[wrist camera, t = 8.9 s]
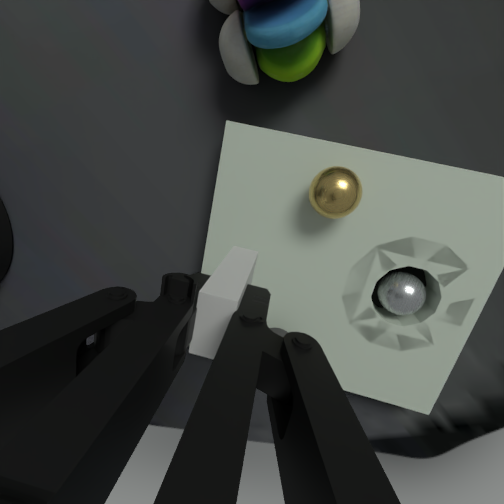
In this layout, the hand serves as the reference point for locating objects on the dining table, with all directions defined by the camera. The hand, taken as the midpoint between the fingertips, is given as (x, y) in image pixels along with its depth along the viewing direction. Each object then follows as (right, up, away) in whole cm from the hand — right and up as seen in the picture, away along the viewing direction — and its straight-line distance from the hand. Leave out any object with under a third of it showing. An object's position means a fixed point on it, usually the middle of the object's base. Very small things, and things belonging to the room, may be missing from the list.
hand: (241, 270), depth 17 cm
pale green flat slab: (+7, 0, +6) cm, 9 cm away
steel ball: (+12, -2, +4) cm, 13 cm away
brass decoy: (+6, +5, +1) cm, 8 cm away
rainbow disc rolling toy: (+3, +17, +2) cm, 18 cm away
